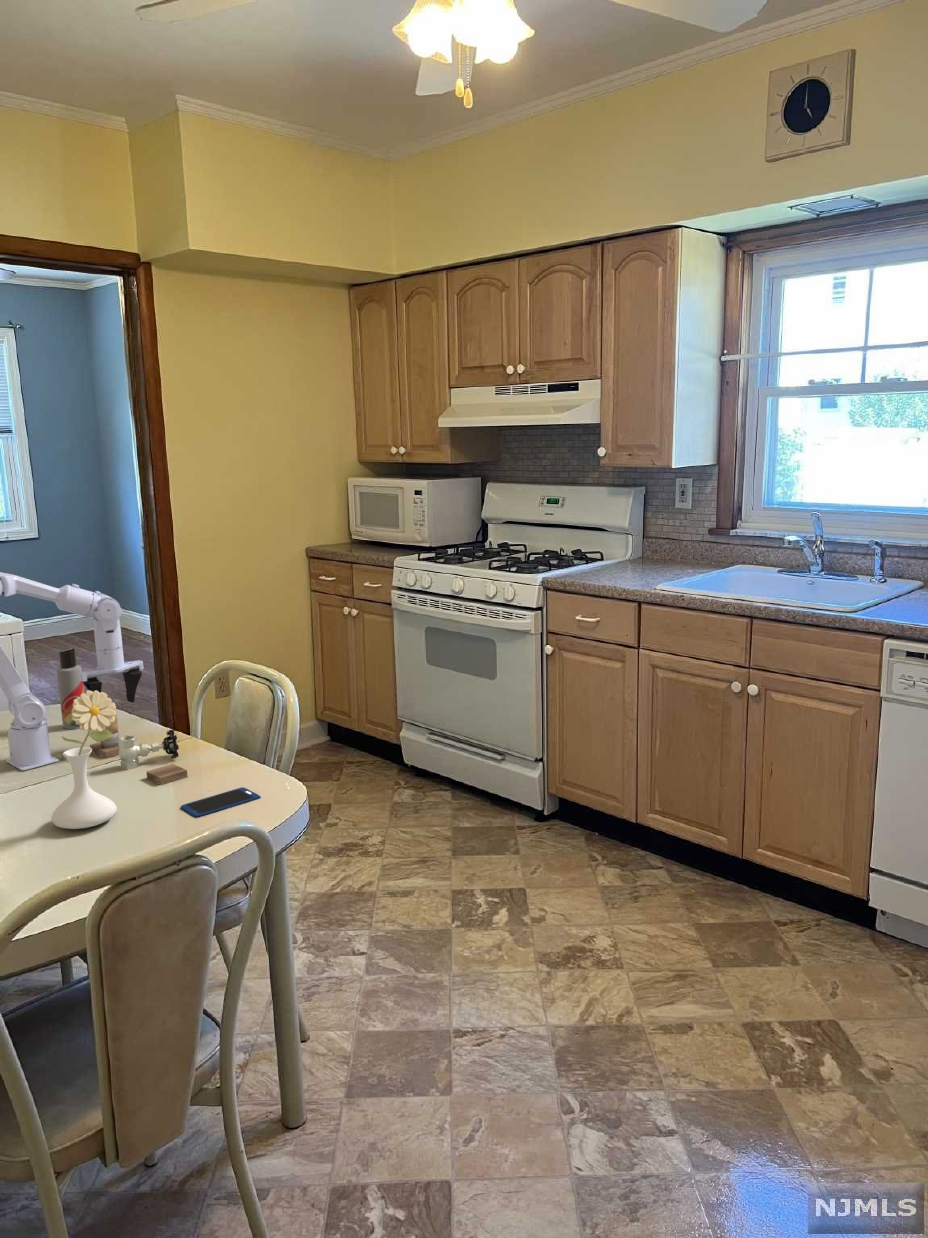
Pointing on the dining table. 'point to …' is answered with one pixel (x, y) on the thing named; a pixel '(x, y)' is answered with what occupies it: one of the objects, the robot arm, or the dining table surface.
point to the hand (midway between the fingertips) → (115, 705)
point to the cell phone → (219, 802)
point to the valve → (144, 749)
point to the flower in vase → (84, 802)
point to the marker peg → (114, 739)
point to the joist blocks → (155, 775)
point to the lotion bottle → (69, 685)
